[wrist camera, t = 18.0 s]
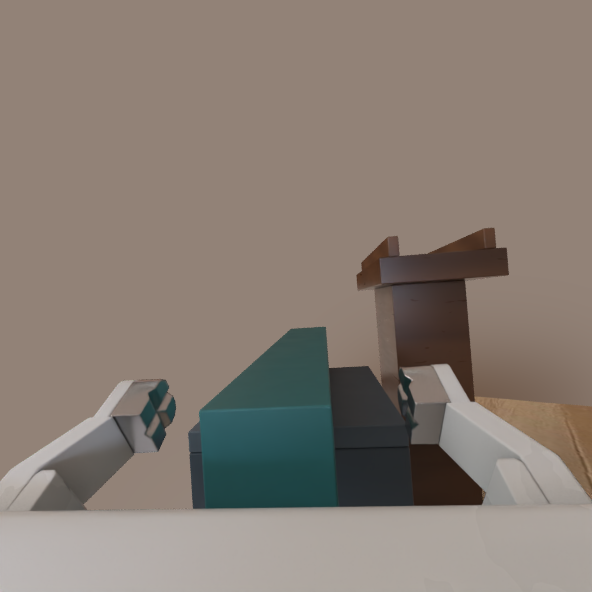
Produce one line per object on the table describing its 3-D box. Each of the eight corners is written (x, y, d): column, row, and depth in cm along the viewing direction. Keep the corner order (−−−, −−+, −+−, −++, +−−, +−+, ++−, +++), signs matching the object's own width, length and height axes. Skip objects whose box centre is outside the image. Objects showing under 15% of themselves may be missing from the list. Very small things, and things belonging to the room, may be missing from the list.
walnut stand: (537, 616, 22) (505, 226, 22) (406, 613, 23) (377, 237, 23) (447, 482, 38) (429, 257, 38) (372, 483, 38) (355, 262, 39)
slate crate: (439, 837, 13) (408, 424, 14) (212, 819, 14) (187, 431, 14) (384, 582, 25) (368, 365, 26) (263, 581, 26) (249, 372, 26)
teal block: (340, 524, 8) (331, 405, 8) (205, 526, 8) (197, 410, 8) (327, 356, 31) (325, 326, 31) (292, 358, 31) (290, 328, 31)
